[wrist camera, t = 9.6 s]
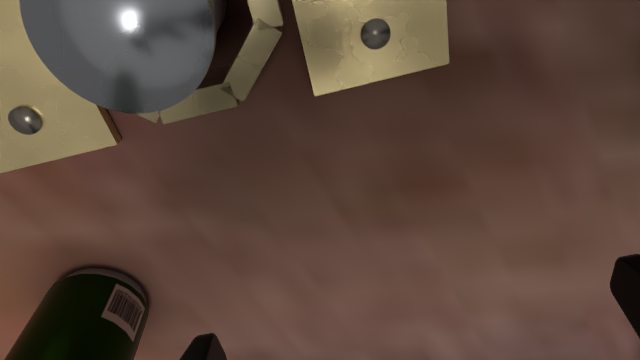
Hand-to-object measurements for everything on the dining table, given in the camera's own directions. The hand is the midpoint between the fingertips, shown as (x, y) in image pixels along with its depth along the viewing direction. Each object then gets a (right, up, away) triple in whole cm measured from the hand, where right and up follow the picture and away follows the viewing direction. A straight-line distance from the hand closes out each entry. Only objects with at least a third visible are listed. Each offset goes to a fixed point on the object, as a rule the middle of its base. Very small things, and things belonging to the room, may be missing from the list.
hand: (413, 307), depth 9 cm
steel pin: (-8, +10, +7) cm, 14 cm away
